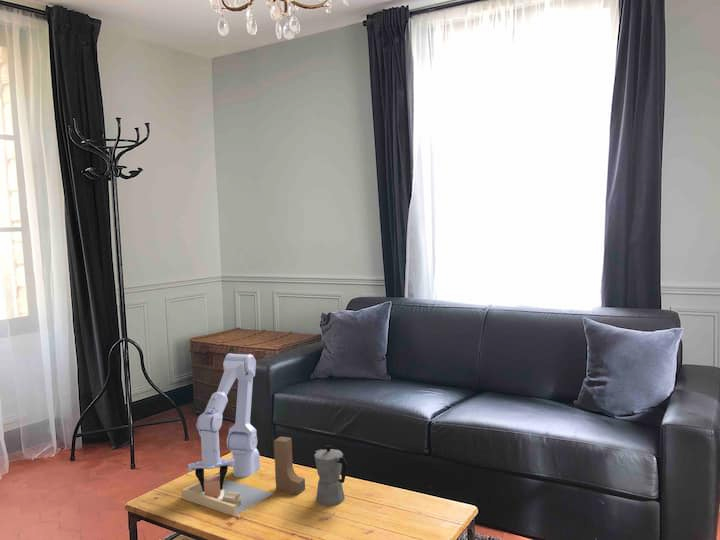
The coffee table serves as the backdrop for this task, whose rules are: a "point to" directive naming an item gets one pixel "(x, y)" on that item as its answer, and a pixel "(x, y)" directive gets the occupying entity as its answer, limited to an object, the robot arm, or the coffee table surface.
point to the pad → (219, 496)
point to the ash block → (233, 498)
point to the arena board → (247, 494)
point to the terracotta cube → (212, 485)
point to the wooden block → (286, 468)
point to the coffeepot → (330, 476)
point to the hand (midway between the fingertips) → (212, 489)
